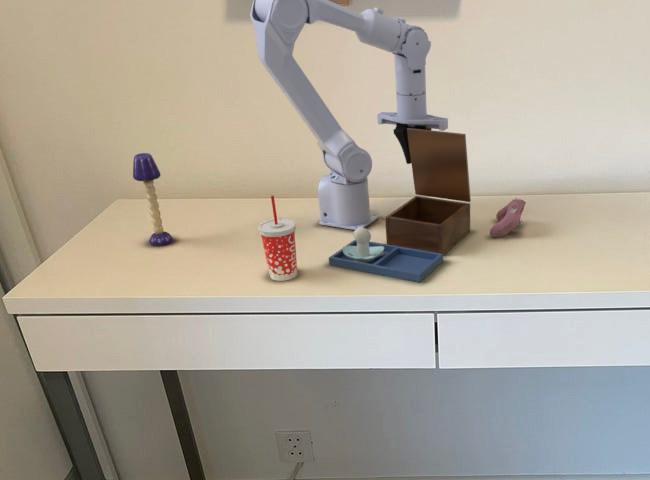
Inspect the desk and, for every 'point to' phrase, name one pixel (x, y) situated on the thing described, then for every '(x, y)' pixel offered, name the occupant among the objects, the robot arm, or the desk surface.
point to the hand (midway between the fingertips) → (413, 163)
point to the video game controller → (508, 218)
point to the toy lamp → (151, 195)
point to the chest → (428, 224)
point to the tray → (392, 262)
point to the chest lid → (439, 164)
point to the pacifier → (363, 247)
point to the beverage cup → (279, 246)
